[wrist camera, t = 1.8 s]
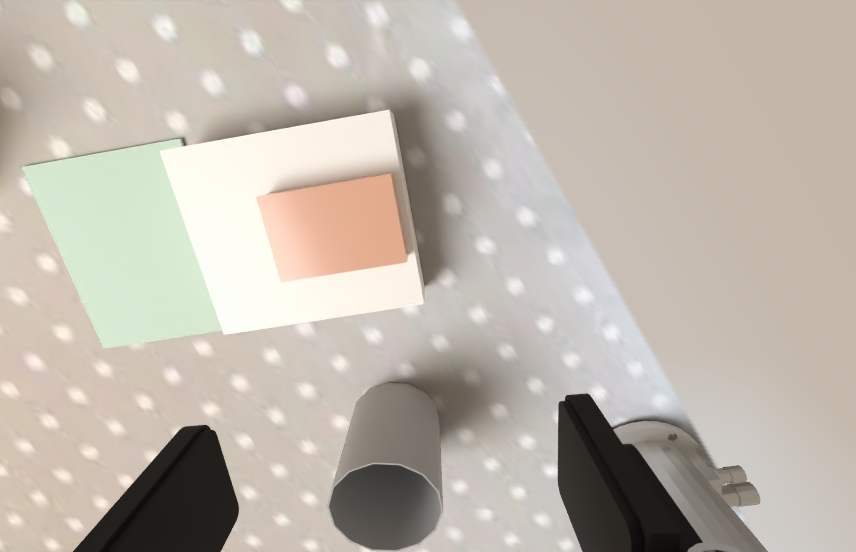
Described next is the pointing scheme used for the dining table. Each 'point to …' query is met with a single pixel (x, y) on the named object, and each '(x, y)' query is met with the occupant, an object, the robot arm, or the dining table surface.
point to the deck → (245, 232)
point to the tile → (334, 227)
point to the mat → (125, 244)
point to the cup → (389, 471)
